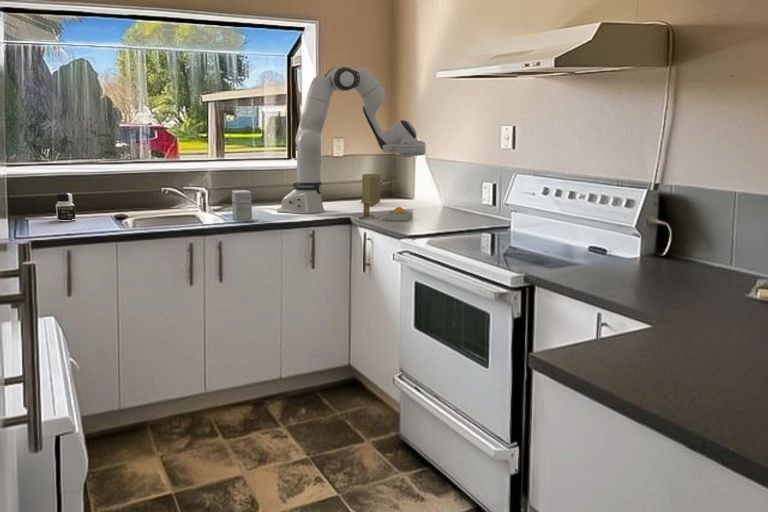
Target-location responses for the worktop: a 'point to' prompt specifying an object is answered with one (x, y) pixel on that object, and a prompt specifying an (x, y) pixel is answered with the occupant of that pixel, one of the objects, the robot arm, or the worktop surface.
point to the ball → (398, 210)
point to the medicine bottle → (65, 207)
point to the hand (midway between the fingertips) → (401, 149)
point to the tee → (366, 209)
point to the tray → (398, 216)
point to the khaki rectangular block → (371, 188)
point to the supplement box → (241, 205)
